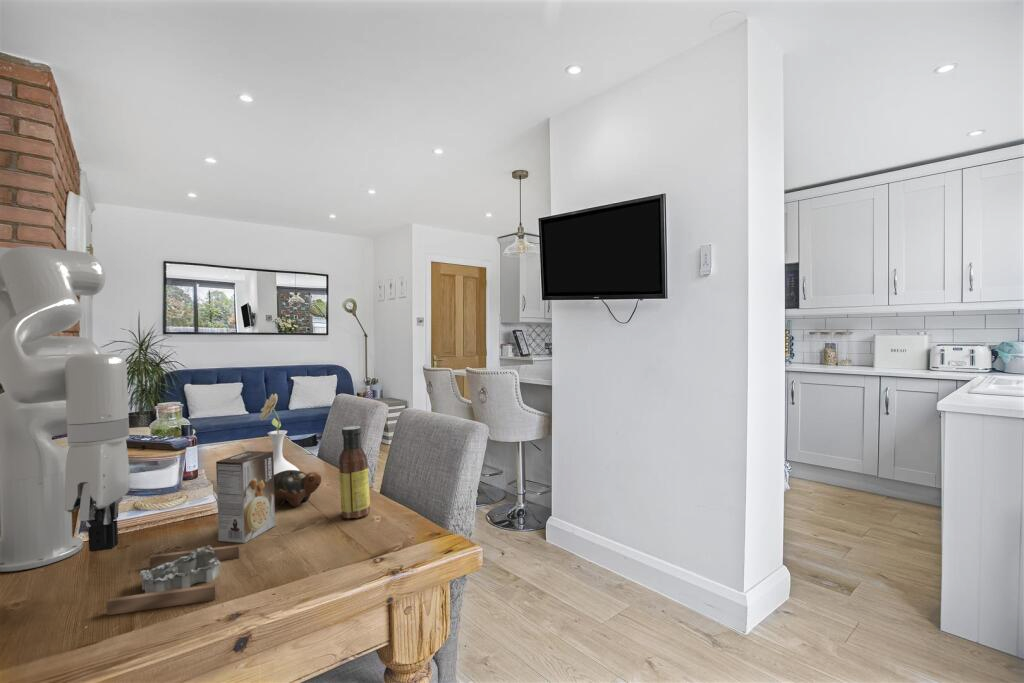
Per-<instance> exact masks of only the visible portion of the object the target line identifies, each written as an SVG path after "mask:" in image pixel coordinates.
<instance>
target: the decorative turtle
mask: <svg viewBox="0 0 1024 683" xmlns="http://www.w3.org/2000/svg"><path fill="white" fill-rule="evenodd" d="M320 484H322V477H321V474H319V473H318V472H315V471H312V472H308V473H305V472H304V471H302V470H299V471H297V470H286V471H282V472H279V473H277V474H275V475H274V495H275V506H281V505H282V504H283V503H285V502H286V501H288V503H289V505H291V507H293V508H296V507H298V506H299V505H300V504H301V503H302V502H307V501H309V499H310V497H311V495H312V494H313V493H314V492H315V491H316V490H317V489H318V488H319V487H320Z"/></svg>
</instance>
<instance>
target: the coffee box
mask: <svg viewBox="0 0 1024 683" xmlns="http://www.w3.org/2000/svg"><path fill="white" fill-rule="evenodd" d="M215 464H216V465H215V466H216V469H215V470H216V493H217V494H216V496H217V497H216V498H217V499H216V500H217V530H218V531H217V532H218V533H217V534H218V537H217V538H218V541H219V542H229V543H240V544H246V543H247V542H249V541H251V540H253V539H255V538H256V537H258V536H260V535H262V534H263V533H265V532H266V531H268V530H270V529H271V528H273V527H276V507H275V506H276V504H275V495H274V461H273V451H258V450H257V451H256V450H255V451H254V450H248V451H244V452H242V453H237V454H234V455H232V456H229V457H226V458H223V459H220V460H217V461H215Z"/></svg>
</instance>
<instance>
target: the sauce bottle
mask: <svg viewBox="0 0 1024 683" xmlns="http://www.w3.org/2000/svg"><path fill="white" fill-rule="evenodd" d="M361 434H362V428H361V426H359V425H351V426H345V427H342V428H341V435H342V438H343V439H342V440H343V441H342V442H343V446H342V448H343V449H342V451H341V453H340V455H339V458H338V464H339V466H338V468H339V471H338V474H339V476H338V477H339V491H340V492H339V493H340V494H339V496H340V511H341V514H342V517H343V518H344V517H345V519H350V518H356V519H360V518H359V517H361V518H364V517H366V516H368V515H369V514H370V510H371V509H370V507H371V498H370V496H371V495H370V481H369V480H370V478H369V466H368V459H367V458H368V456H367V455H366V453H365V451H364V449H363V447H362V442H361ZM367 514H368V515H367ZM363 516H364V517H363Z"/></svg>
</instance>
